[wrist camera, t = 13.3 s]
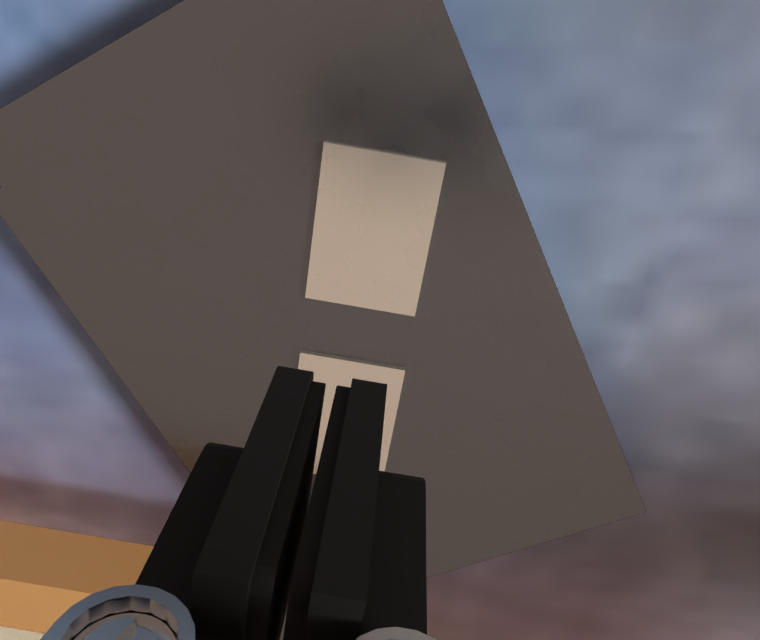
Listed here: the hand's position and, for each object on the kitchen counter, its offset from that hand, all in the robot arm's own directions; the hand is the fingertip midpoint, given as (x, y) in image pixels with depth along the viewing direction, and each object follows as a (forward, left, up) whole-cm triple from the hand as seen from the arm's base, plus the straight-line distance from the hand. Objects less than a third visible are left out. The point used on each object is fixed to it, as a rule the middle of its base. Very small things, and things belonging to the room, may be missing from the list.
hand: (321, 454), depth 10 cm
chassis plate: (-3, +3, -13) cm, 14 cm away
